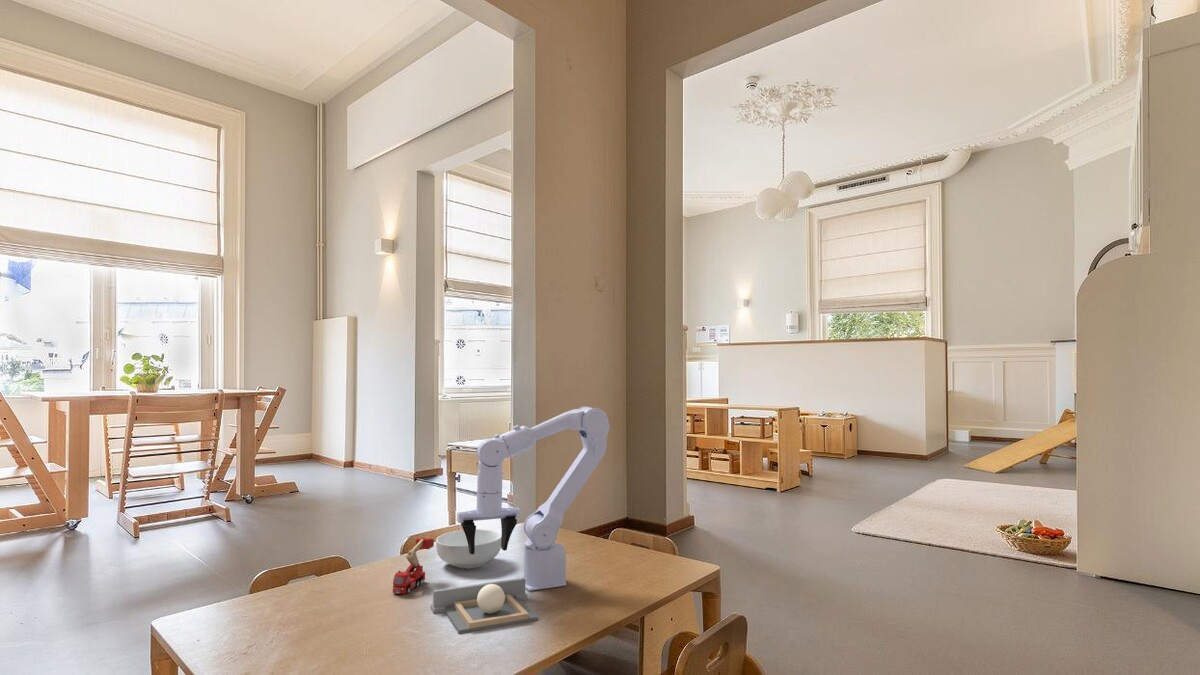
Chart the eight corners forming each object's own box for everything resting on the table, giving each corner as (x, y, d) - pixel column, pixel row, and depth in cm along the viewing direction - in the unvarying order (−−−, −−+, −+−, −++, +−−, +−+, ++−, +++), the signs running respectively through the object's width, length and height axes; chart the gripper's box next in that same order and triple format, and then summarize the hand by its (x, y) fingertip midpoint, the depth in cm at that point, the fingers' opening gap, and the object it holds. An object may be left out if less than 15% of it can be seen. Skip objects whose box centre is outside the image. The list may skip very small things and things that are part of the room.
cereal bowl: (471, 551, 173) (471, 525, 173) (514, 562, 163) (515, 535, 163) (421, 565, 159) (422, 537, 159) (465, 579, 149) (466, 549, 150)
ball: (496, 605, 130) (497, 578, 131) (509, 614, 126) (510, 586, 126) (471, 611, 127) (473, 583, 127) (484, 620, 123) (485, 591, 123)
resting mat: (517, 600, 135) (518, 592, 136) (537, 620, 125) (537, 611, 125) (444, 611, 128) (444, 603, 128) (458, 633, 118) (458, 625, 118)
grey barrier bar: (522, 594, 139) (523, 576, 139) (527, 598, 136) (527, 580, 137) (430, 608, 130) (431, 588, 130) (433, 613, 127) (434, 593, 128)
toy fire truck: (390, 595, 137) (392, 550, 138) (420, 575, 151) (421, 535, 152) (404, 596, 137) (406, 551, 137) (433, 577, 150) (434, 536, 151)
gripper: (513, 486, 151) (512, 543, 150) (454, 490, 144) (452, 550, 143) (523, 491, 144) (522, 551, 144) (461, 496, 138) (460, 558, 137)
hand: (488, 551), depth 143 cm, fingers open, 7 cm apart
